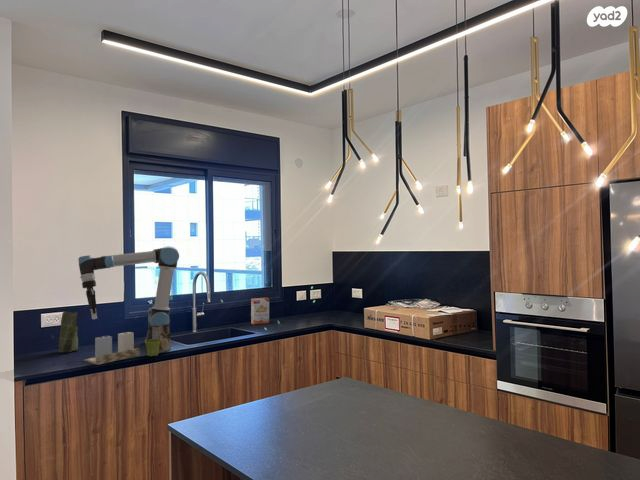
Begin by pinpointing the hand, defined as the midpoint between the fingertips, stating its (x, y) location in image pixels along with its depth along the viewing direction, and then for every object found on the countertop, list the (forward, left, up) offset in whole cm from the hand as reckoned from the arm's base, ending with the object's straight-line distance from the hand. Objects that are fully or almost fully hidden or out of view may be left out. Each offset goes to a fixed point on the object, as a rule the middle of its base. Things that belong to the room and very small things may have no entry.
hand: (94, 318), depth 284 cm
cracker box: (-131, +19, -21) cm, 134 cm away
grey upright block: (+10, +25, -19) cm, 33 cm away
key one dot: (-4, +25, -19) cm, 31 cm away
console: (+3, +22, -21) cm, 30 cm away
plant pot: (-14, +36, -21) cm, 44 cm away
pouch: (+7, -17, -21) cm, 28 cm away
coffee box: (-24, +31, -21) cm, 45 cm away
